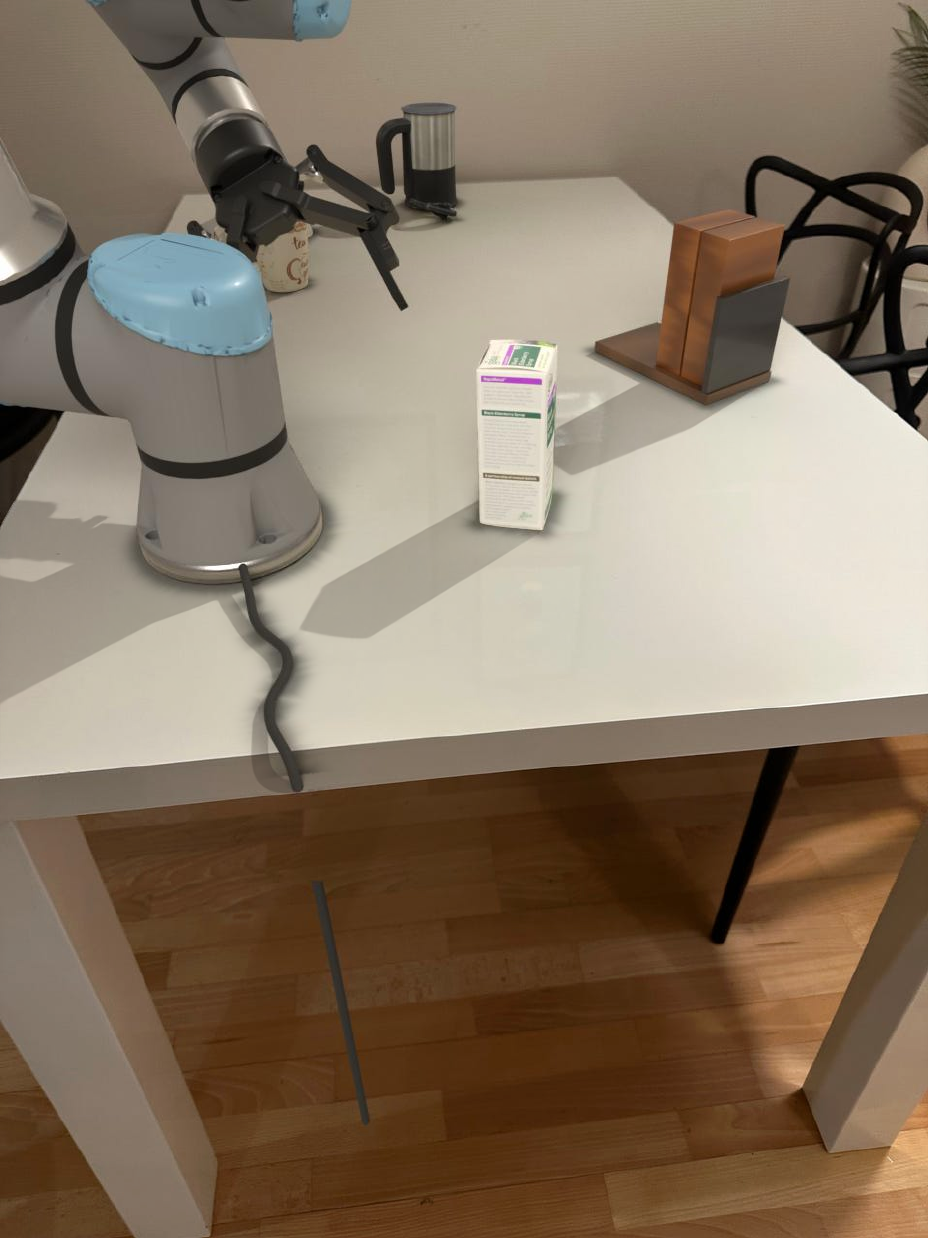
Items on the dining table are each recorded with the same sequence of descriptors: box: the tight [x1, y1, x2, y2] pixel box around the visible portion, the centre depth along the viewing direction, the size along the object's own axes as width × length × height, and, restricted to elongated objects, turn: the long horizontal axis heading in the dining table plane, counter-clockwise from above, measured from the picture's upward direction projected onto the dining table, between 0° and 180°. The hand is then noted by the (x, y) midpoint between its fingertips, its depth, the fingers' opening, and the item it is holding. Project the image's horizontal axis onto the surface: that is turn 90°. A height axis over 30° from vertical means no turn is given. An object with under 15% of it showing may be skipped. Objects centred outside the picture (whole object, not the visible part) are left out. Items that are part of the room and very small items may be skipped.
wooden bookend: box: [594, 208, 791, 406], centre depth 97 cm, size 18×10×16 cm, turn 35°
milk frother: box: [375, 102, 459, 221], centre depth 147 cm, size 14×16×15 cm
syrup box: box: [475, 338, 559, 531], centre depth 74 cm, size 6×6×14 cm
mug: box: [256, 221, 309, 293], centre depth 122 cm, size 8×13×10 cm, turn 47°
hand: (331, 343), depth 76 cm, fingers open, 13 cm apart
